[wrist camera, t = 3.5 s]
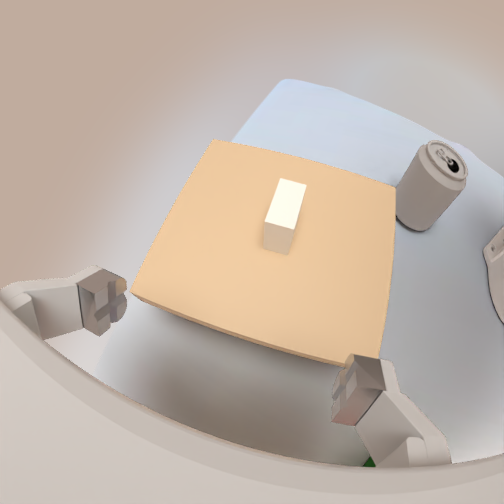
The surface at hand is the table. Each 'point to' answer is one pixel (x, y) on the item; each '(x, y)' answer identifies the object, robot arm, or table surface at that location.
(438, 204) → the can
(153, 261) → the carton lid
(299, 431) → the table surface
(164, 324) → the table surface
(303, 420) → the table surface
